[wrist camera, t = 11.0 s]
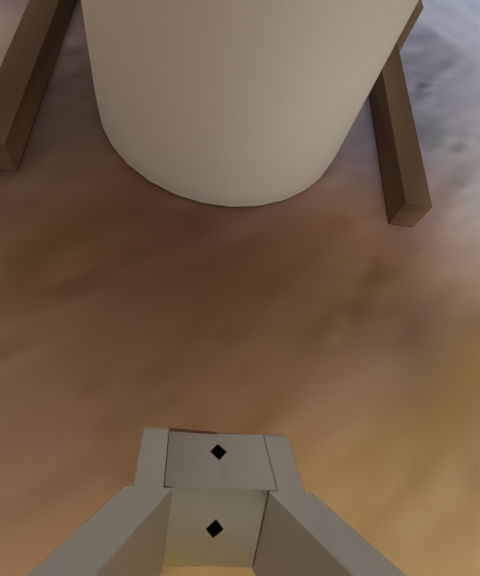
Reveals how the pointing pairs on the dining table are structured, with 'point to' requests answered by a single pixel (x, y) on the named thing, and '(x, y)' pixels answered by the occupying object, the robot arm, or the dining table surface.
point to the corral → (383, 96)
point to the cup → (236, 88)
